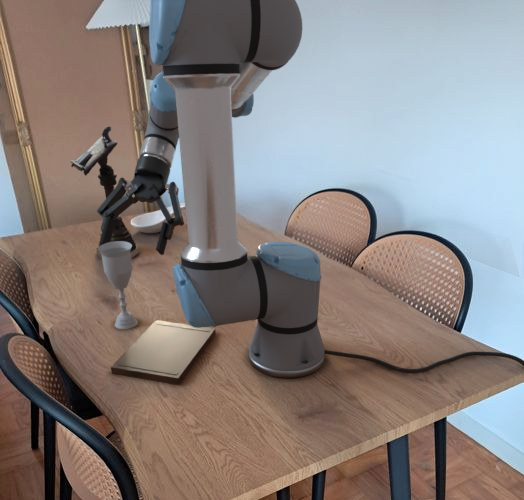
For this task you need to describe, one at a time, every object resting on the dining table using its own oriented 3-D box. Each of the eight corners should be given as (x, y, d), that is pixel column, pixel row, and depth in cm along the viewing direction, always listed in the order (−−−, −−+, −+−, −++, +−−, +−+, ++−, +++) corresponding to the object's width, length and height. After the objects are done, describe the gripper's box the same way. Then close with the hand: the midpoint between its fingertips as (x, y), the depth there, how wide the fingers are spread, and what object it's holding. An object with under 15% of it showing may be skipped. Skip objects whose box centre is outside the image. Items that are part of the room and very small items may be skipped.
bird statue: (87, 268, 151) (64, 133, 133) (76, 253, 161) (52, 125, 142) (146, 257, 158) (131, 127, 140) (131, 243, 167) (116, 120, 149)
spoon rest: (136, 239, 171) (133, 216, 167) (128, 227, 180) (125, 205, 177) (208, 229, 179) (207, 207, 175) (197, 218, 188) (196, 197, 185)
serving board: (215, 334, 120) (215, 328, 119) (178, 385, 103) (178, 378, 102) (156, 325, 123) (156, 319, 122) (111, 373, 107) (110, 366, 106)
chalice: (133, 333, 120) (123, 254, 111) (104, 329, 121) (91, 252, 112) (146, 317, 126) (137, 242, 117) (118, 314, 128) (107, 240, 118)
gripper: (210, 176, 126) (189, 262, 122) (113, 169, 132) (89, 250, 128) (200, 157, 119) (178, 247, 115) (98, 150, 125) (72, 235, 121)
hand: (131, 249), depth 121 cm, fingers open, 13 cm apart
